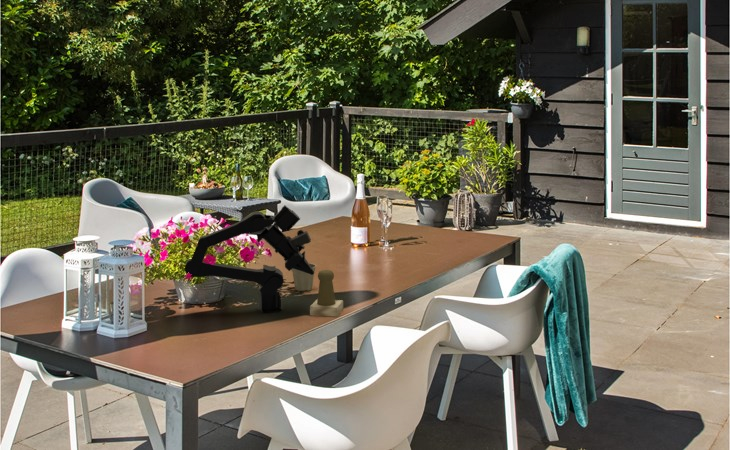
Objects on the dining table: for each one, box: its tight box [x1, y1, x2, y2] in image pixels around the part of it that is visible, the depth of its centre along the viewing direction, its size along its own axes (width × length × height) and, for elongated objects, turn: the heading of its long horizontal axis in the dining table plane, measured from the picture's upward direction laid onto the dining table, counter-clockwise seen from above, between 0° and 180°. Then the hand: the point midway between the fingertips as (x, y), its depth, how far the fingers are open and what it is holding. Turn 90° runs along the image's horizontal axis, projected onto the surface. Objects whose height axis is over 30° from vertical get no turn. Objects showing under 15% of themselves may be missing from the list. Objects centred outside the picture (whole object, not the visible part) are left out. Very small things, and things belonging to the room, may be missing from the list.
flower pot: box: [290, 262, 317, 292], centre depth 341 cm, size 9×9×9 cm
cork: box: [317, 269, 336, 306], centre depth 310 cm, size 6×6×11 cm
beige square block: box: [309, 298, 344, 318], centre depth 312 cm, size 9×9×3 cm
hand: (313, 273), depth 313 cm, fingers closed
